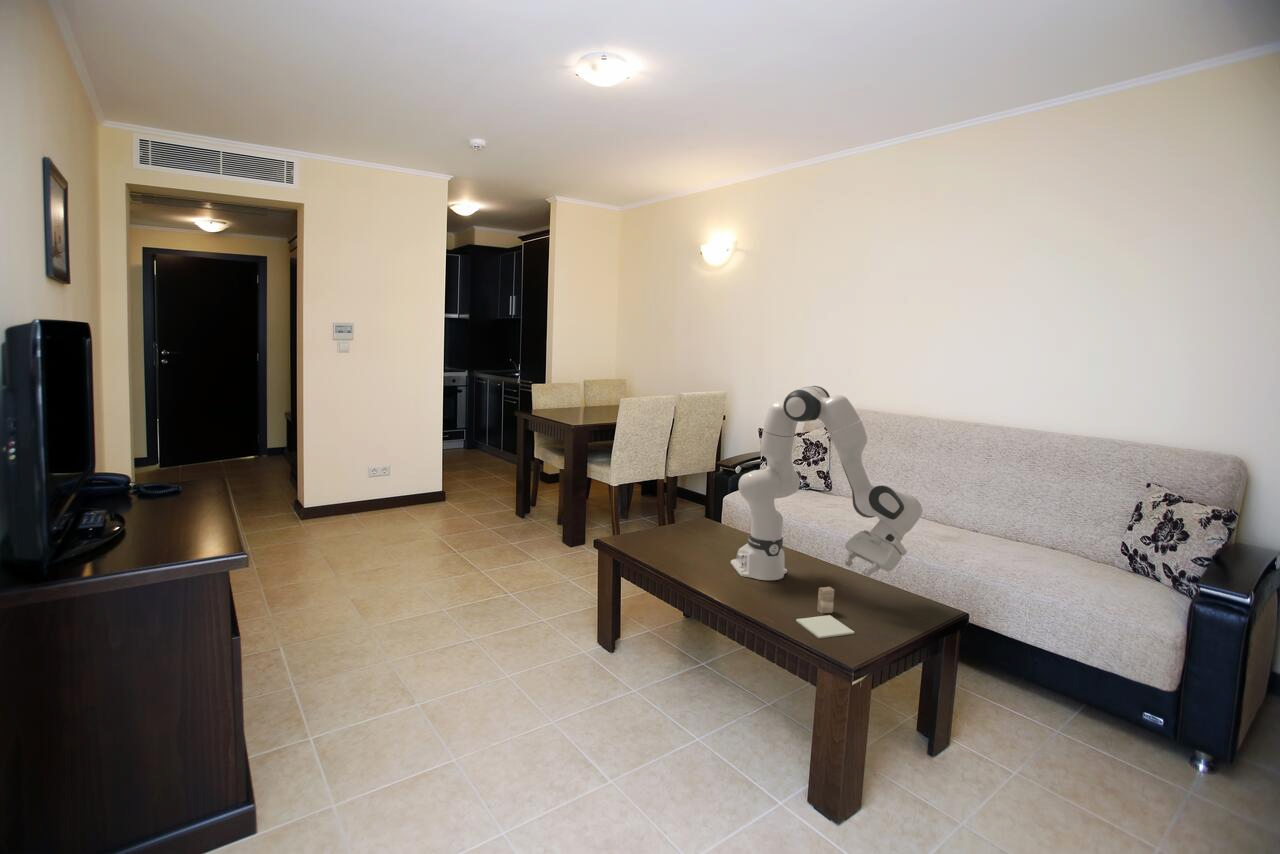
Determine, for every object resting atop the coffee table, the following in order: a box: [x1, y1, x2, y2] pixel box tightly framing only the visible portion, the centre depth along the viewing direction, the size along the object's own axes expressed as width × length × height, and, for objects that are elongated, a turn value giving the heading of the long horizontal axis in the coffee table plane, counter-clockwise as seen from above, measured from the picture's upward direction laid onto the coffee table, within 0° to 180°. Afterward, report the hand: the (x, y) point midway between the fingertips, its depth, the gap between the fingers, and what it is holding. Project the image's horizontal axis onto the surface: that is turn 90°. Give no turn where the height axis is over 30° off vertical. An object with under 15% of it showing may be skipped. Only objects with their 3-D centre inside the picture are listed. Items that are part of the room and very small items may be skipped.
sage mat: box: [795, 614, 855, 639], centre depth 194 cm, size 12×12×1 cm
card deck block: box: [816, 586, 835, 615], centre depth 205 cm, size 3×4×8 cm
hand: (855, 569), depth 207 cm, fingers open, 8 cm apart
